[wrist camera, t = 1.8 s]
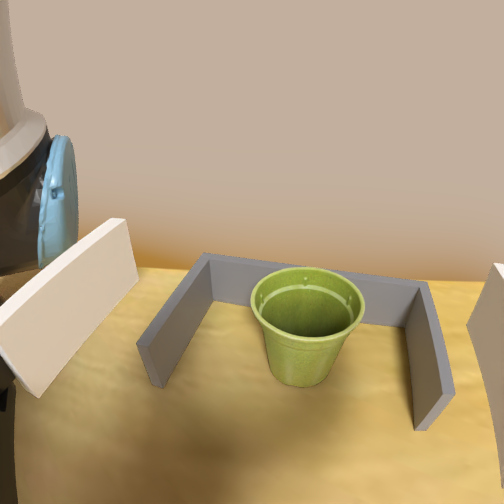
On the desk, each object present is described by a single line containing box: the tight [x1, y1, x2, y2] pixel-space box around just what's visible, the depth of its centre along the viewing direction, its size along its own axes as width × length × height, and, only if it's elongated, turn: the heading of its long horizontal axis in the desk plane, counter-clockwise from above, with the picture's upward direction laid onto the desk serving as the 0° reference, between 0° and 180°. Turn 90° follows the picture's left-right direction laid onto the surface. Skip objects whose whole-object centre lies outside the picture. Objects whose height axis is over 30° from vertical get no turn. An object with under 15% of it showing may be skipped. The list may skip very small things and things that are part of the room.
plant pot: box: [250, 267, 365, 388], centre depth 27 cm, size 9×9×9 cm
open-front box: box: [136, 253, 455, 431], centre depth 29 cm, size 26×15×6 cm, turn 75°
